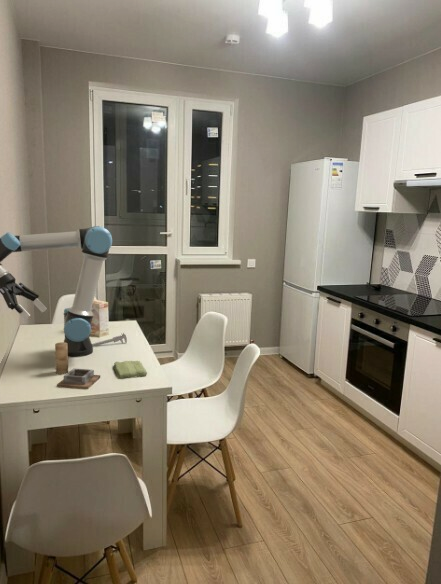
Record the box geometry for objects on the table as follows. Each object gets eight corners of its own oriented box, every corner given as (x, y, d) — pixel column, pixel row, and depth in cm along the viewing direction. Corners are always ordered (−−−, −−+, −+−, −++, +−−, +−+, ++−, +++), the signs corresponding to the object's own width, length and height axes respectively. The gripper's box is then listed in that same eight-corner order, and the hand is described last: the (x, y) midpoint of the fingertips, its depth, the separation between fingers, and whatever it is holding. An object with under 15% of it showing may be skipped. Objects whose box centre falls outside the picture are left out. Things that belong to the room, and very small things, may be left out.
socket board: (71, 375, 187) (71, 366, 186) (100, 377, 185) (100, 368, 185) (56, 386, 174) (56, 377, 173) (87, 389, 173) (87, 379, 172)
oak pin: (59, 370, 193) (58, 342, 190) (70, 370, 192) (69, 342, 190) (54, 374, 188) (53, 345, 185) (64, 374, 187) (64, 346, 185)
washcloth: (140, 364, 205) (140, 357, 204) (147, 377, 189) (147, 370, 188) (112, 366, 200) (112, 360, 200) (117, 380, 184) (117, 373, 183)
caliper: (126, 343, 236) (126, 332, 235) (126, 344, 235) (126, 332, 234) (87, 347, 228) (87, 335, 227) (88, 347, 227) (87, 336, 226)
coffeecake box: (82, 332, 254) (81, 300, 251) (92, 330, 260) (91, 298, 257) (99, 337, 246) (98, 303, 242) (109, 334, 252) (108, 301, 248)
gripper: (13, 280, 199) (46, 313, 200) (-23, 288, 174) (14, 326, 175) (24, 269, 197) (56, 302, 198) (-11, 276, 173) (26, 314, 174)
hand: (36, 314), depth 187 cm, fingers open, 13 cm apart
